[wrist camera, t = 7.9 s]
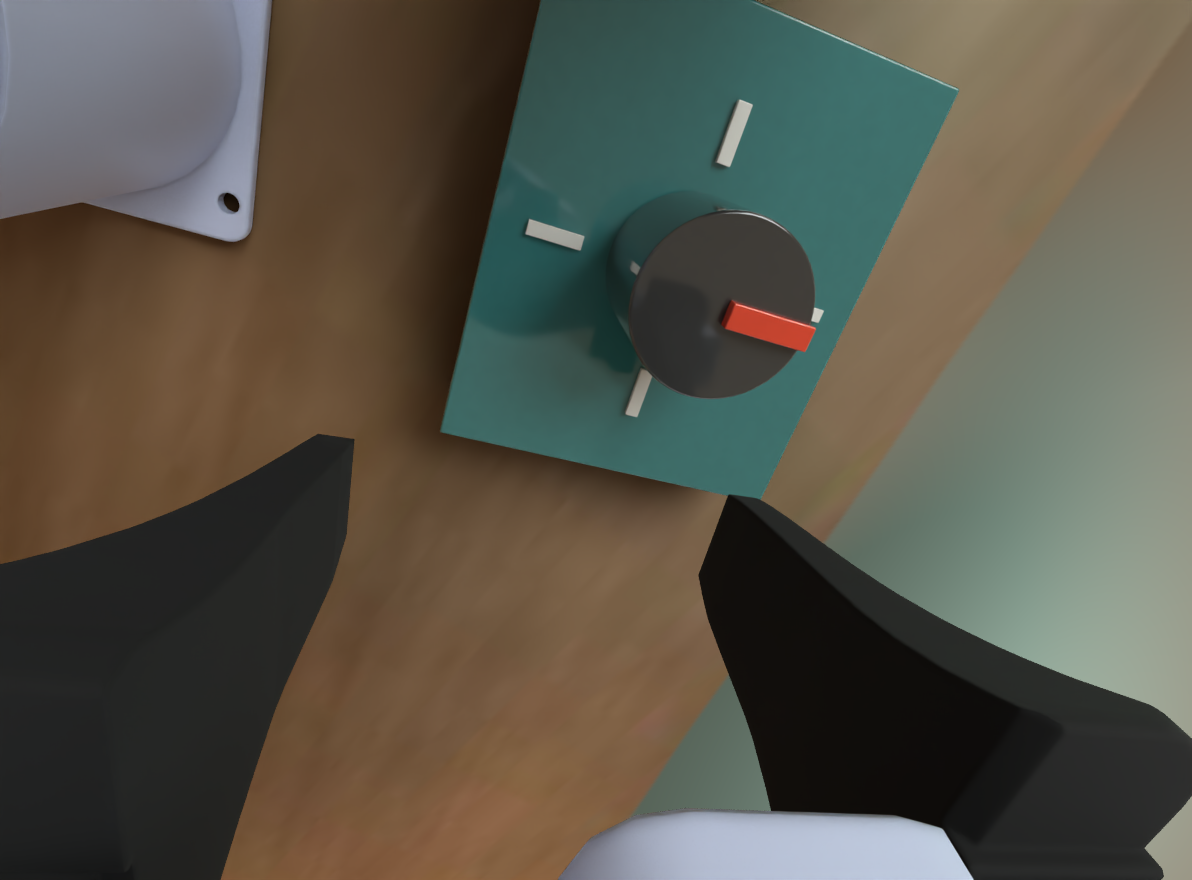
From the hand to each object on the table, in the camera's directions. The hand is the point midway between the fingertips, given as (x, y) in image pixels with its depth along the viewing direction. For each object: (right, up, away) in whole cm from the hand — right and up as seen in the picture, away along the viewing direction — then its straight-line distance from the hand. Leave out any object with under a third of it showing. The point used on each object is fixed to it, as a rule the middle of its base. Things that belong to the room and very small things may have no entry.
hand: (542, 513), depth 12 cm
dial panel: (+3, +7, +7) cm, 10 cm away
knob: (+3, +6, +4) cm, 8 cm away
